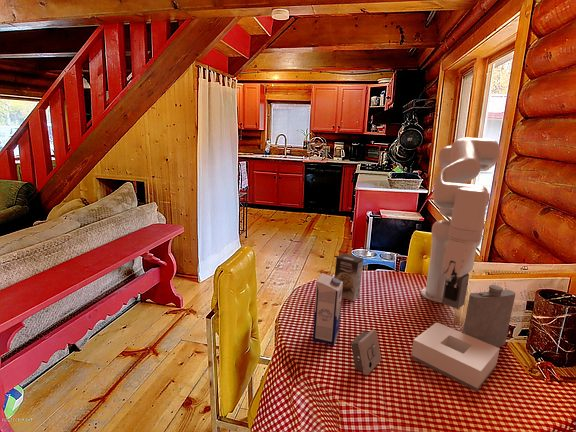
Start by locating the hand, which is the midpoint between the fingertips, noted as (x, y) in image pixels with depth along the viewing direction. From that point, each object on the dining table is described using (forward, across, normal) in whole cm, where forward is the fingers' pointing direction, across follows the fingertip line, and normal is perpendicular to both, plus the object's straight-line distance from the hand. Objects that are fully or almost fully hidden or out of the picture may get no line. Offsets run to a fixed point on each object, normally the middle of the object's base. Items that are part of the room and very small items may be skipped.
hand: (454, 296), depth 99 cm
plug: (+3, 0, 0) cm, 3 cm away
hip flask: (+20, -16, +5) cm, 26 cm away
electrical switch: (+20, +21, -13) cm, 32 cm away
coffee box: (+20, -10, -44) cm, 49 cm away
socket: (+20, 0, +2) cm, 20 cm away
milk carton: (+20, +19, -29) cm, 40 cm away
